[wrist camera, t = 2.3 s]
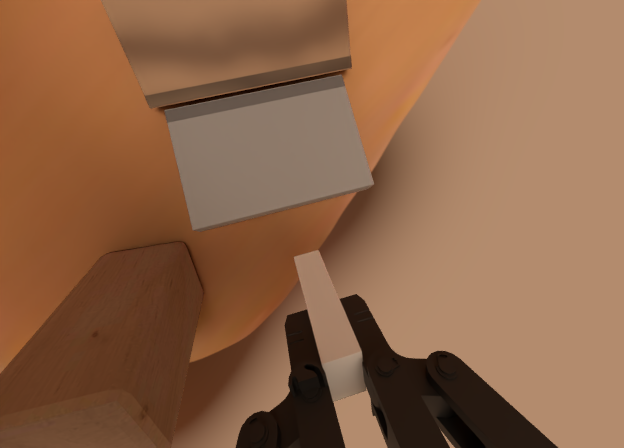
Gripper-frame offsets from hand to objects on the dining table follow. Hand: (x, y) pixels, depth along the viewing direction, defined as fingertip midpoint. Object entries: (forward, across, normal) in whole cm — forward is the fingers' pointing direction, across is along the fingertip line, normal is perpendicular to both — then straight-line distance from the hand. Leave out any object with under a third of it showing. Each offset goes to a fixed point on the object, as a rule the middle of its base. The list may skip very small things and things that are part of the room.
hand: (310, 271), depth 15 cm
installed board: (+19, 0, +14) cm, 24 cm away
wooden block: (+19, -19, -10) cm, 29 cm away
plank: (+16, 0, +3) cm, 16 cm away
